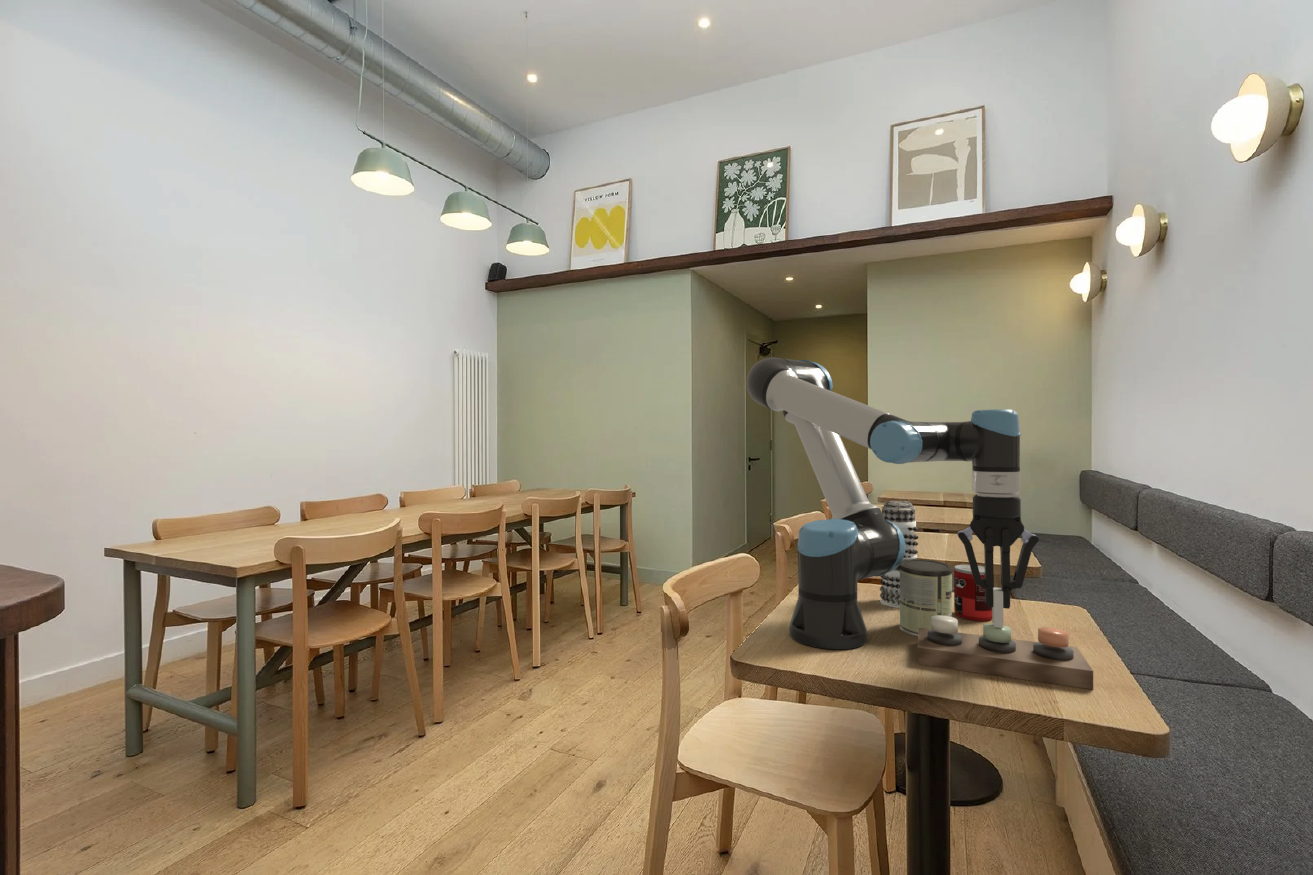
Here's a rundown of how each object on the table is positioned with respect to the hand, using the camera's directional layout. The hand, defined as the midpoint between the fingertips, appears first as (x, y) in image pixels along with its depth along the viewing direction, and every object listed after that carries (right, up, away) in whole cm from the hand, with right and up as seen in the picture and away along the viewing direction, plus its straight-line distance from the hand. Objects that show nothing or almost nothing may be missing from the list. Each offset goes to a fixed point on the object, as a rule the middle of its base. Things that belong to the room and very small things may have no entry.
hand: (997, 625), depth 106 cm
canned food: (+11, -7, +28) cm, 31 cm away
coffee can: (-5, -7, +18) cm, 20 cm away
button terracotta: (+7, -2, -4) cm, 9 cm away
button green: (0, -2, 0) cm, 2 cm away
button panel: (0, -7, 0) cm, 7 cm away
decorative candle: (-2, -7, +38) cm, 39 cm away
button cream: (-8, -2, +3) cm, 9 cm away
